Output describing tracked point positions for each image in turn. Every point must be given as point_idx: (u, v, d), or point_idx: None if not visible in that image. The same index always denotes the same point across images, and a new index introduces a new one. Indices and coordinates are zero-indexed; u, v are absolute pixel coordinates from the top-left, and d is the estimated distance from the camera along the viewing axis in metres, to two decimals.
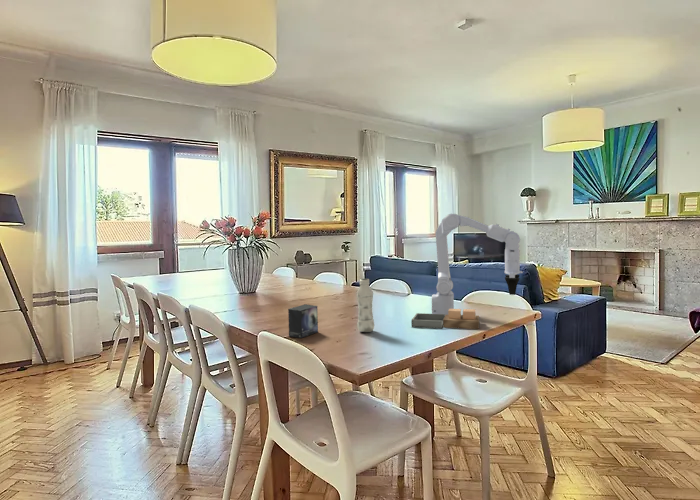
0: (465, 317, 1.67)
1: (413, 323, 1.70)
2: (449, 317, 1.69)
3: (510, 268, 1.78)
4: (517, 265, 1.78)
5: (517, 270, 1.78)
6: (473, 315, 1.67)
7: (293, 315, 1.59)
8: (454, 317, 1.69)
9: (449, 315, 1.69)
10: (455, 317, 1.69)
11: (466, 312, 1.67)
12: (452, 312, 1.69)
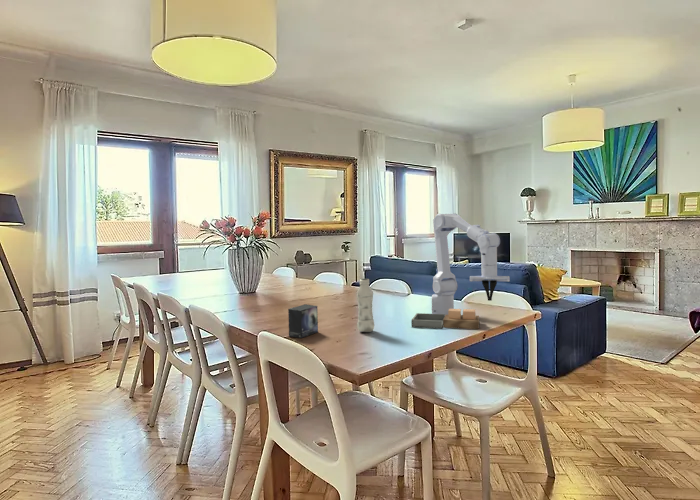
0: (465, 317, 1.67)
1: (413, 323, 1.70)
2: (449, 317, 1.69)
3: None
4: (483, 270, 1.65)
5: (484, 275, 1.65)
6: (473, 315, 1.67)
7: (293, 315, 1.59)
8: (454, 317, 1.69)
9: (449, 315, 1.69)
10: (455, 317, 1.69)
11: (466, 312, 1.67)
12: (452, 312, 1.69)
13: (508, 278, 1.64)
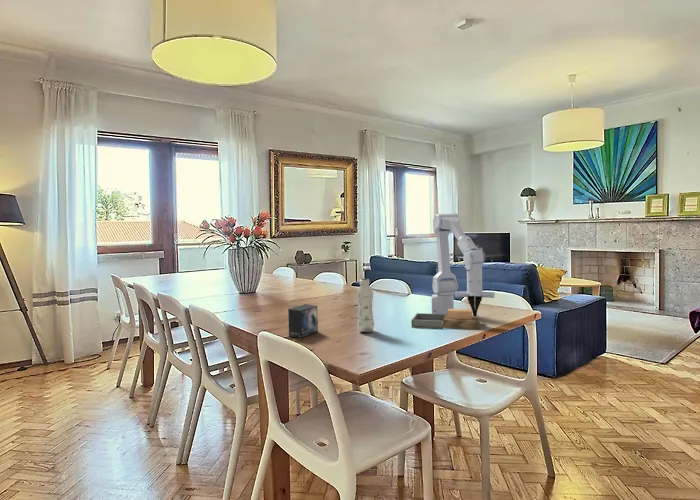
0: (461, 317, 1.68)
1: (413, 323, 1.70)
2: (448, 317, 1.69)
3: None
4: (469, 286, 1.66)
5: (469, 291, 1.67)
6: (469, 315, 1.67)
7: (293, 315, 1.59)
8: (453, 317, 1.69)
9: (448, 315, 1.69)
10: (454, 317, 1.69)
11: (462, 312, 1.68)
12: (451, 312, 1.69)
13: (493, 294, 1.65)
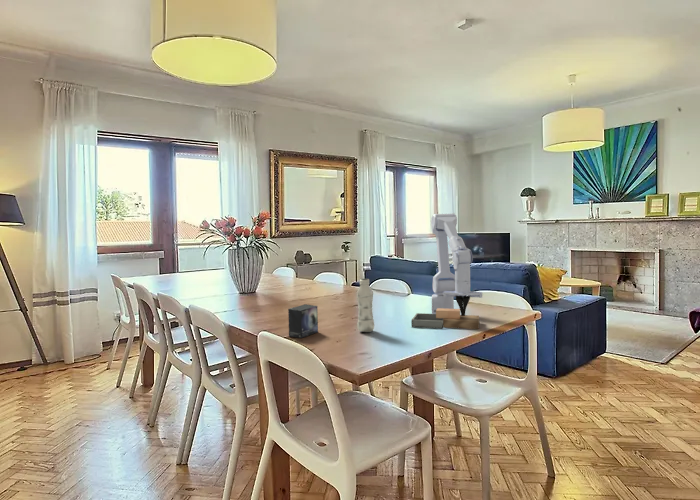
0: (450, 316, 1.69)
1: (413, 323, 1.70)
2: (437, 317, 1.71)
3: None
4: (457, 286, 1.68)
5: (457, 291, 1.68)
6: (458, 314, 1.68)
7: (293, 315, 1.59)
8: (442, 317, 1.70)
9: (437, 315, 1.71)
10: (443, 317, 1.70)
11: (451, 312, 1.69)
12: (440, 312, 1.70)
13: (481, 294, 1.66)
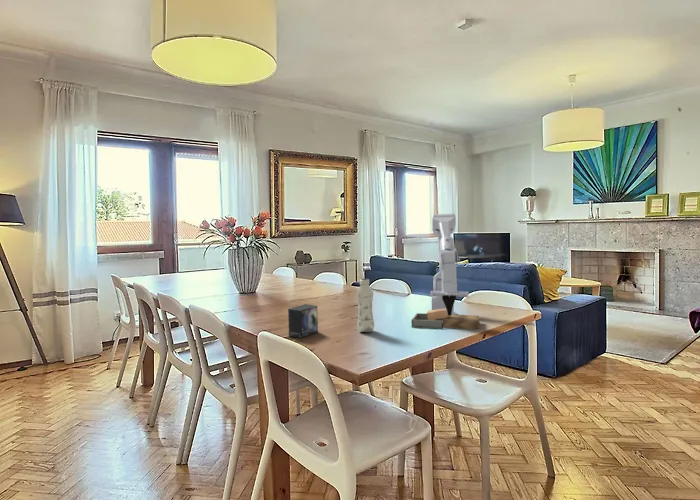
0: (437, 317, 1.71)
1: (413, 323, 1.70)
2: None
3: None
4: (443, 285, 1.69)
5: (443, 291, 1.70)
6: (445, 314, 1.70)
7: (293, 315, 1.59)
8: (434, 317, 1.71)
9: None
10: (434, 316, 1.71)
11: (437, 312, 1.70)
12: (429, 319, 1.72)
13: (467, 294, 1.68)
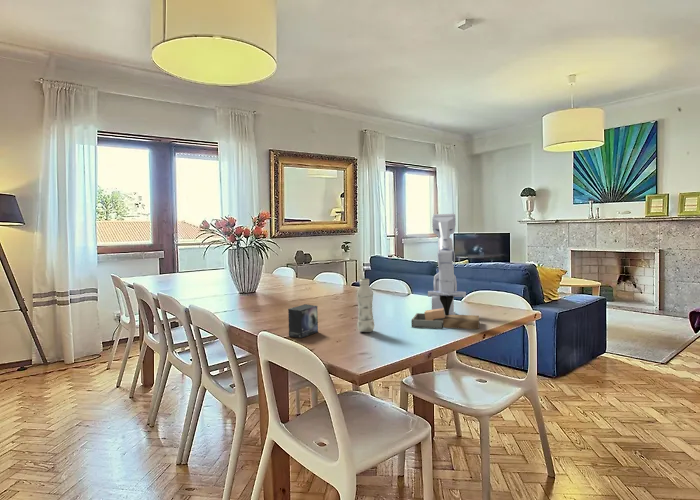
0: (435, 317, 1.71)
1: (413, 323, 1.70)
2: None
3: None
4: (441, 285, 1.70)
5: (441, 291, 1.70)
6: (442, 314, 1.70)
7: (293, 315, 1.59)
8: (431, 317, 1.72)
9: None
10: (431, 316, 1.72)
11: (435, 312, 1.71)
12: (427, 319, 1.72)
13: (464, 294, 1.68)
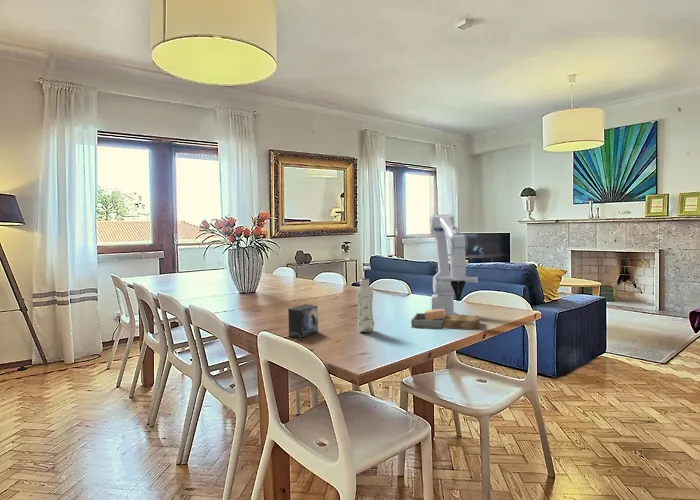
0: (435, 317, 1.71)
1: (413, 323, 1.70)
2: None
3: None
4: (452, 271, 1.68)
5: (452, 276, 1.68)
6: (442, 314, 1.70)
7: (293, 315, 1.59)
8: (431, 317, 1.72)
9: None
10: (431, 316, 1.72)
11: (435, 312, 1.71)
12: (427, 319, 1.72)
13: (476, 279, 1.66)
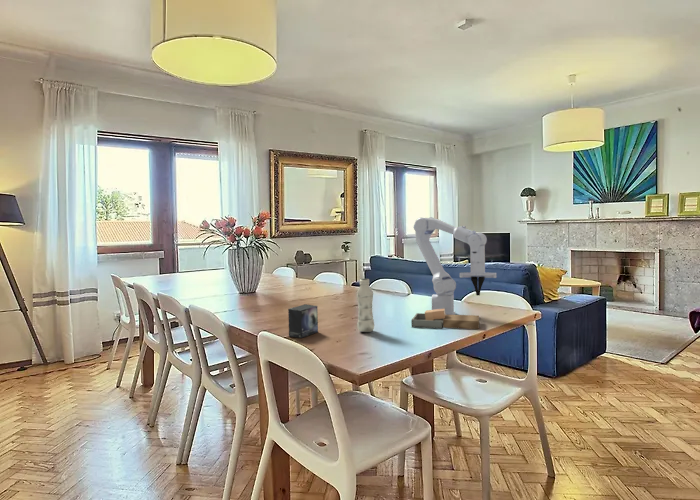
0: (435, 317, 1.71)
1: (413, 323, 1.70)
2: None
3: None
4: (472, 267, 1.78)
5: (472, 272, 1.78)
6: (442, 314, 1.70)
7: (293, 315, 1.59)
8: (431, 317, 1.72)
9: None
10: (431, 316, 1.72)
11: (435, 312, 1.71)
12: (427, 319, 1.72)
13: (495, 274, 1.77)
